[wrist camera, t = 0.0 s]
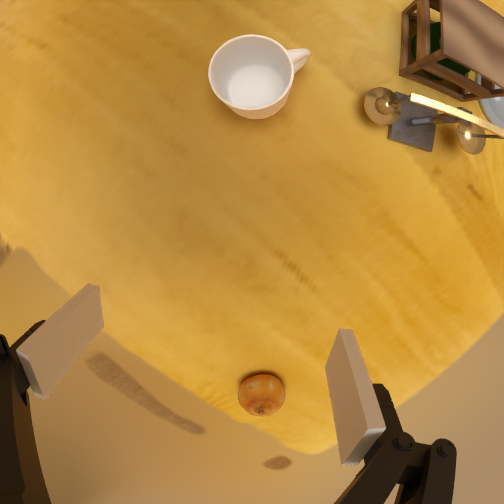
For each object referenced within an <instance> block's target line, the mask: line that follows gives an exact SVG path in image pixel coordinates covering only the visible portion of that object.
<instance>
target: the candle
mask: <svg viewBox="0 0 504 504" xmlns="http://www.w3.org/2000/svg"><path fill="white" fill-rule="evenodd" d="M411 49H412V54H413V57H414V59H415V61H416V54H417V35H416V36H415V37H414V38H413V41H412V45H411ZM439 49H441V22H436V23H434V24H432V25H431V26H430V54H432V53H434V52H435V51H437V50H439ZM436 63H439V64H441V65H443V66H445V67H447V68H449V69H451V70H453V71H455V72H457V73H459V74H461V75H463V74H466V73H468V72H469V71H470V69H468V68H467V67H465V66H463V65H461V64H459V63H457V62H455V61H453V60H451V59H449V58H444V59H442V60H440V61H438V62H436ZM421 70H422V71H423V72H424V73H425V74H427V75H428V76H430V77H432V78H434V79H437V80H446V79H443V78H441V77H439V76H437V75H434V74H432V73H430V72H427V71H425V70H423V69H421Z"/></svg>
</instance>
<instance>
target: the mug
mask: <svg viewBox="0 0 504 504" xmlns="http://www.w3.org/2000/svg"><path fill="white" fill-rule="evenodd" d="M310 56H311V51H310V50H308V49H303V48H301V49H290V50H286V49H285V48H284V47H283V46H282V45H281V44H279V43H278V42H277V41H275V40H273V39H271V38H269V37H265V36H262V35H243V36H238V37H235V38H233V39H231V40H229V41H227V42H226V43H224V44H223V45H222V46H221V47H220V48H219V49H218V50H217V51H216V52H215V53H214V55H213V57H212V59H211V61H210V64H209V69H208V78H209V83H210V85H211V88H212V90H213V92H214V93H215V94H216V96H217V97H218V98H219V99H220V100H221V101H223V102H224V103H225V104H226V105H227V106H228V107H229V108H230V109H231V110H233V111H234V112H235V113H237V114H238V115H240V116H242V117H245V118H248V119H264V118H267V117H270V116H272V115H274V114H276V113H277V112H278V111H279V110H280V109H281V108H282V107H283V106H284V105H285V103H286V101H287V99H288V96H289V93H290V89H291V86H292V83H293V79H294V74H295V73H296V72H297V71H298V70H299V69H300V68H301V67H302V66H303V65H304V64H305V63H306V62H307V60H308V59H309V58H310ZM302 58H303V59H302Z"/></svg>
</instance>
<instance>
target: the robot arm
mask: <svg viewBox="0 0 504 504" xmlns="http://www.w3.org/2000/svg"><path fill="white" fill-rule="evenodd" d="M103 327H104V323H103V315H102V307H101V297H100V287H99V286H97V285H93V284H89V283H88V284H87V285H86V286H85V287H84V288H83V289H81V290H80V291H79V292H78V293H77V294H76V295H74V296H73V297H72V298H71V299H70V300H69V301H68V302H66V303H65V304H64V305H63V306H62V307H61V308H60V309H59V310H58V311H57V312H55V313H54V314H53V315H52V316H51V317H50V318H49V319H48V320H47V321H45V320H42V321H40V322H38V323H35V324H34V325H33V326H32V327H31V328H30V329H29V330H28V331H27V332H26V333H25V334H24V335H23V336H21V337H20V338H19V339H18V340H17V341H16V342H15V343H14V344H13V345H12V346H11V347H10V348H9V345H8V343H7V340H6V337H5V336H4V335H2V334H0V504H51V501H50V498H49V495H48V492H47V488H46V485H45V481H44V478H43V474H42V470H41V467H40V462H39V457H38V453H37V448H36V443H35V437H34V432H33V426H32V419H31V412H30V403H29V395H28V392H27V389H28V388H29V386H31V389H32V391H33V393H34V394H35V395H37V396H38V397H40V398H42V399H44V400H46V399H47V398H48V396H49V395H50V394H51V392H52V391H53V390H54V388H55V387H56V386H57V385H58V383H59V382H60V381H61V379H62V378H63V377H64V375H65V374H66V373H67V372H68V370H69V369H70V368H71V366H72V365H73V364H74V363H75V361H76V360H77V359H78V358H79V356H80V355H81V354H82V353H83V351H84V350H85V349H86V348H87V346H88V345H89V344H90V343H91V342H92V340H93V339H94V338H95V337H96V335H97V334H98V333H99V332H100V331H101V329H102V328H103ZM325 370H326V376H327V381H328V387H329V392H330V398H331V403H332V409H333V415H334V421H335V427H336V433H337V440H338V446H339V452H340V460H341V465H358V464H359V463H360V461H361V460H362V459H363V458H364V462H365V466H364V467H363V468H362V469H361V471H360V472H359V473H358V474H357V475H356V477H355V479H354V480H353V481H352V483H351V484H350V485H349V486H348V487H347V489H346V490H345V491H344V492H343V493H342V495H341V496H340V497H339V498H338V499H337V501H336V502H335V503H334V504H384V502H385V501H386V499H387V498H388V496H389V495H390V493H391V491H392V490H393V488H394V486H395V485H396V484H400V486H399V489H398V493H397V496H396V500H395V503H394V504H451V503H452V497H453V489H454V479H455V469H456V455H457V453H456V448H455V446H454V444H453V443H452V442H450V441H449V440H447V439H437V440H436V441H435V442H434V443H433V444H432V445H427V444H421V443H417V442H415V441H414V439H413V437H412V436H411V435H409V434H408V433H406V432H403V430H402V427H401V424H400V421H399V418H398V416H397V413H396V410H395V408H394V405H393V402H392V401H391V400H392V399H391V397H390V394H389V391H388V390H387V389H386V388H385V387H384V386H383V385H382V384H372V383H371V380H370V377H369V374H368V371H367V368H366V365H365V362H364V360H363V357H362V354H361V351H360V349H359V346H358V343H357V340H356V338H355V335H354V332H353V330H348V329H339V330H338V333H337V336H336V339H335V342H334V345H333V347H332V350H331V353H330V355H329V358H328V361H327V363H326V366H325Z"/></svg>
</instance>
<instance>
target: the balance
mask: <svg viewBox="0 0 504 504" xmlns="http://www.w3.org/2000/svg"><path fill="white" fill-rule="evenodd" d="M364 109H365V112H366V114H367V116H368V117H369V118H370V119H371V120H372V121H373V122H375V123H377V124H379V125H389V131H388V137H387V139H391V140H394V141H397V142H401V143H404V144H407V145H410V146H413V147H416V148H419V149H422V150H425V151H428V152H432V148H433V141H434V134H435V127H436V124H446V123H459V125H458V128H457V136H458V140H459V143H460V145H461V147H462V148H463V149H464V150H465V151H466V152H467V153H469V154H479V153H480V152H481V151H482V150H483V148H484V146H485V141H486V138H498V139H504V129H502V128H500V127H498V126H496V125H494V124H491V123H489V122H487V121H485V120H483V119H480V118H478V117H476V116H474V115H472V112H470V111H468V110H466V109H464V108H462V107H458V108H454V107H451V106H449V105H446V104H443V103H441V102H438V101H435V100H432V99H429V98H426V97H423V96H420V95H417V94H413V93H411V94H410V95H409V96H407V95H405V94H402V93H399V92H395V93H393V92H392V91H391V90H389V89H387V88H383V87H377V88H374V89H372V90H370V91H369V92H368V93H367V94H366V96H365V98H364ZM437 111H440V112H443V113H444V114H437ZM484 129H485V130H487V131H490V132H492V133H494V134H496V135H485V132H484Z"/></svg>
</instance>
